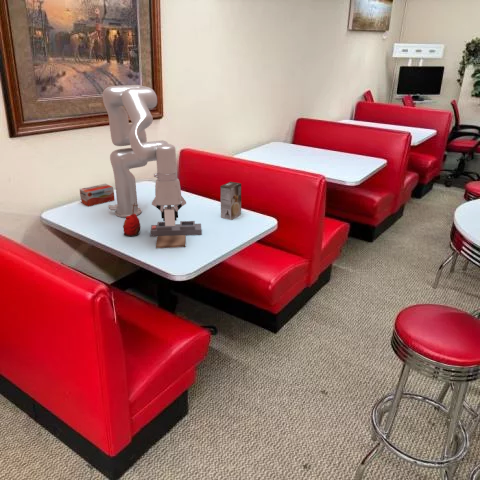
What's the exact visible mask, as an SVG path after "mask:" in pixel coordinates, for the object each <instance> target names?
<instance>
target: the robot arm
mask: <svg viewBox="0 0 480 480" xmlns="http://www.w3.org/2000/svg"><path fill="white" fill-rule="evenodd" d="M102 101H103V105H104V108H105V109H106V112H107V115H108V123H109V132H110V139H111V143H112V144H113V146H116V147H125V146H130V147H125V148H118V149H115V150H113V151H112V152H111V153H110V155H109V161H110V164H111V167H112V171H113V179H114V185H115V193H116V204H115V205H108V210H110V211H114V213H115V214H114V215H115V216H116V217H120V218H126V217H127V216H130V215H132V213H133V211H132V210H133V205H134V203H135V205H138V197H137V196H138V195H137V184H136V177H135V175H134V174H133V173H132V172H131V171H130V170H131V169H132V170H133V169H137V168H141V167H145V166H147V164H148V162H156V172H155V173H153V177H154V178H156V180H155V185H154V187H155V189H154V193H155V197H154V198H153V200H152V202H151V206H153V207H155V208H156V209H157V210H159V211H160V214H161V219H162V220H163V221H162V222H165V216H164V207H167V205H171V206H174V208H175V210H174V214H175V222H176V221H177V220H178V218H179V210H180V209H181V208H182V207H184V206H185V205H187V201H186V199H185V197H183V195H182V189H181V183H180V179H179V178H178V172H177V153H176V152H177V151H176V147H175V145H173V144H171V143H168V141H166V140H163V139H162V140H153V141H147V132H146V130H147V128H149V127H150V126H151V125H152V123H153V120H154V119H153V115H152V113H151V110H150V109H153V108H155V107H157V105H158V95H157V94H156V92H155V90H154V89H153V88H152V87H149V86H145V85H144V86H143V85H140V84H135V85H134V84H129V85H126V84H124V85H112V86H108V87H106V88H105V89H103V92H102ZM129 120H130V121H131V123H130V121H129ZM131 204H132V205H131ZM134 214H136V216H137V217H138V216H139V215H140V214H142V208H140V207H139V205H138V206H134Z"/></svg>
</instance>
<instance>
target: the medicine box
mask: <svg viewBox="0 0 480 480" xmlns="http://www.w3.org/2000/svg"><path fill="white" fill-rule="evenodd" d="M79 195H80V200H81V203H82V204H84V205H85V206H87V207H92V206H97V205H101V204H106V203H110V202H114V201H115V191H114V186H112V185H109V184H107V183H102V184H98V185H92V186H88V187H84V188H79Z"/></svg>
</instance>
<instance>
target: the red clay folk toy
mask: <svg viewBox="0 0 480 480" xmlns="http://www.w3.org/2000/svg"><path fill="white" fill-rule="evenodd" d="M131 205H132V204H131ZM134 206H138V207H139V205H135V203H134V205H133V210H132V211H133V213H132V215H130V216H127V217H125V219H124V221H123V225H122V228H123V234H124V236H128V237H134V236H137V235H140V232H141V223H140V219H139V218H138V215H137V216H136V214H134Z"/></svg>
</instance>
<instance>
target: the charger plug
mask: <svg viewBox="0 0 480 480" xmlns="http://www.w3.org/2000/svg"><path fill="white" fill-rule="evenodd" d="M174 210H175V207H174V205H167V206H164V216H165V221H164V222H165V226H175V224H176V221H175V214H174Z"/></svg>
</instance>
